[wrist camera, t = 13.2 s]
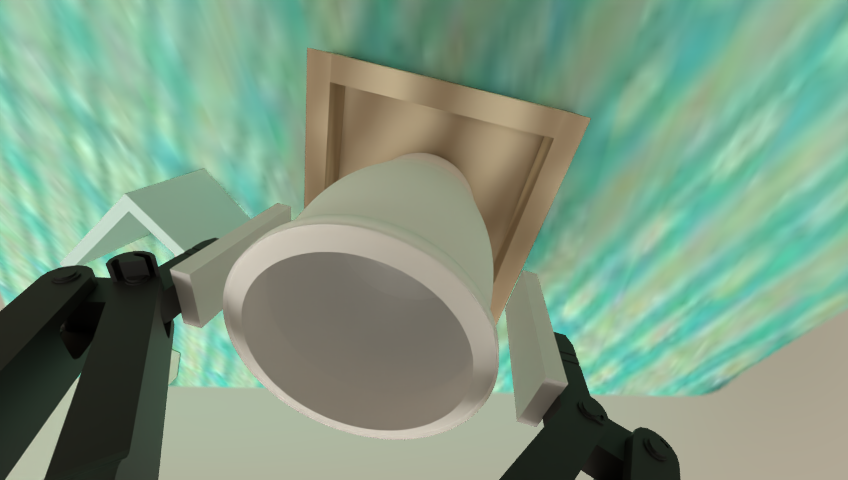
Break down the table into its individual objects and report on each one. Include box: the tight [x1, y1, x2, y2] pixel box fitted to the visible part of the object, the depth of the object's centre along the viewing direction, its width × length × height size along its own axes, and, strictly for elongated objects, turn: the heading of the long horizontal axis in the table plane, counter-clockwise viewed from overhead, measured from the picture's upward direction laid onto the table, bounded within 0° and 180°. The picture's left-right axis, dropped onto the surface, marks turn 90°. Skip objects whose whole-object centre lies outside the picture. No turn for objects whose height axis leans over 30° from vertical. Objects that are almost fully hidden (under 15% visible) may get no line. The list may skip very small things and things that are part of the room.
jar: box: [223, 153, 499, 440], centre depth 17 cm, size 11×10×15 cm
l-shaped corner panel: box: [60, 169, 251, 267], centre depth 28 cm, size 12×12×8 cm
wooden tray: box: [304, 48, 591, 325], centre depth 23 cm, size 17×18×4 cm
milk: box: [5, 350, 180, 480], centre depth 32 cm, size 6×6×22 cm
